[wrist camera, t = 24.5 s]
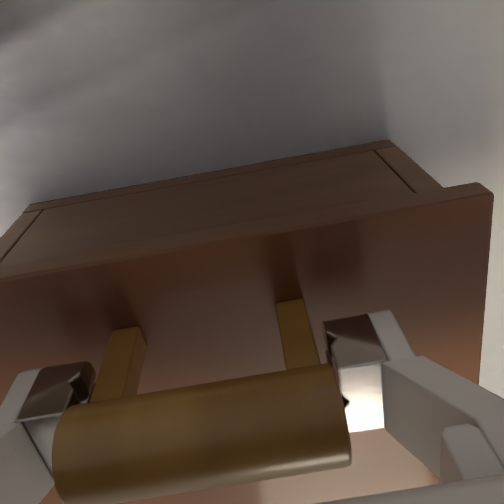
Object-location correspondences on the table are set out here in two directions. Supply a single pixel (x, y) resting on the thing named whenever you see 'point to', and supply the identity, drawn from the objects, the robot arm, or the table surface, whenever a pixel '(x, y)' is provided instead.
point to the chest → (213, 201)
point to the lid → (245, 349)
